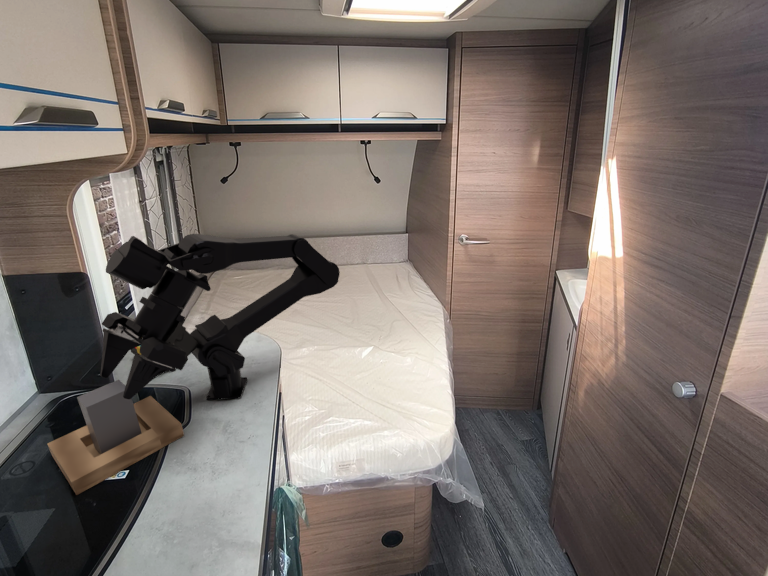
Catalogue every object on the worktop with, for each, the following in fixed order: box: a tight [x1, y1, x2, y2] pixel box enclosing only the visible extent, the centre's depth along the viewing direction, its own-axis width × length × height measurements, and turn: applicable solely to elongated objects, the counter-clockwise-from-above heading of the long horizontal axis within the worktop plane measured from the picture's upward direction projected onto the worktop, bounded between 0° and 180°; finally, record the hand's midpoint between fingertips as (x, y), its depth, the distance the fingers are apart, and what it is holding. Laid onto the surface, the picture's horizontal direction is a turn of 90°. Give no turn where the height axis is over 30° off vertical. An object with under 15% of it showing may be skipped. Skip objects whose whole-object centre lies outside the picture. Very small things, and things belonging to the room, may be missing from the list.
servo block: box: [76, 379, 142, 455], centre depth 70 cm, size 6×4×10 cm, turn 140°
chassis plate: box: [47, 395, 185, 496], centre depth 71 cm, size 16×12×2 cm
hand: (114, 387), depth 69 cm, fingers open, 9 cm apart
